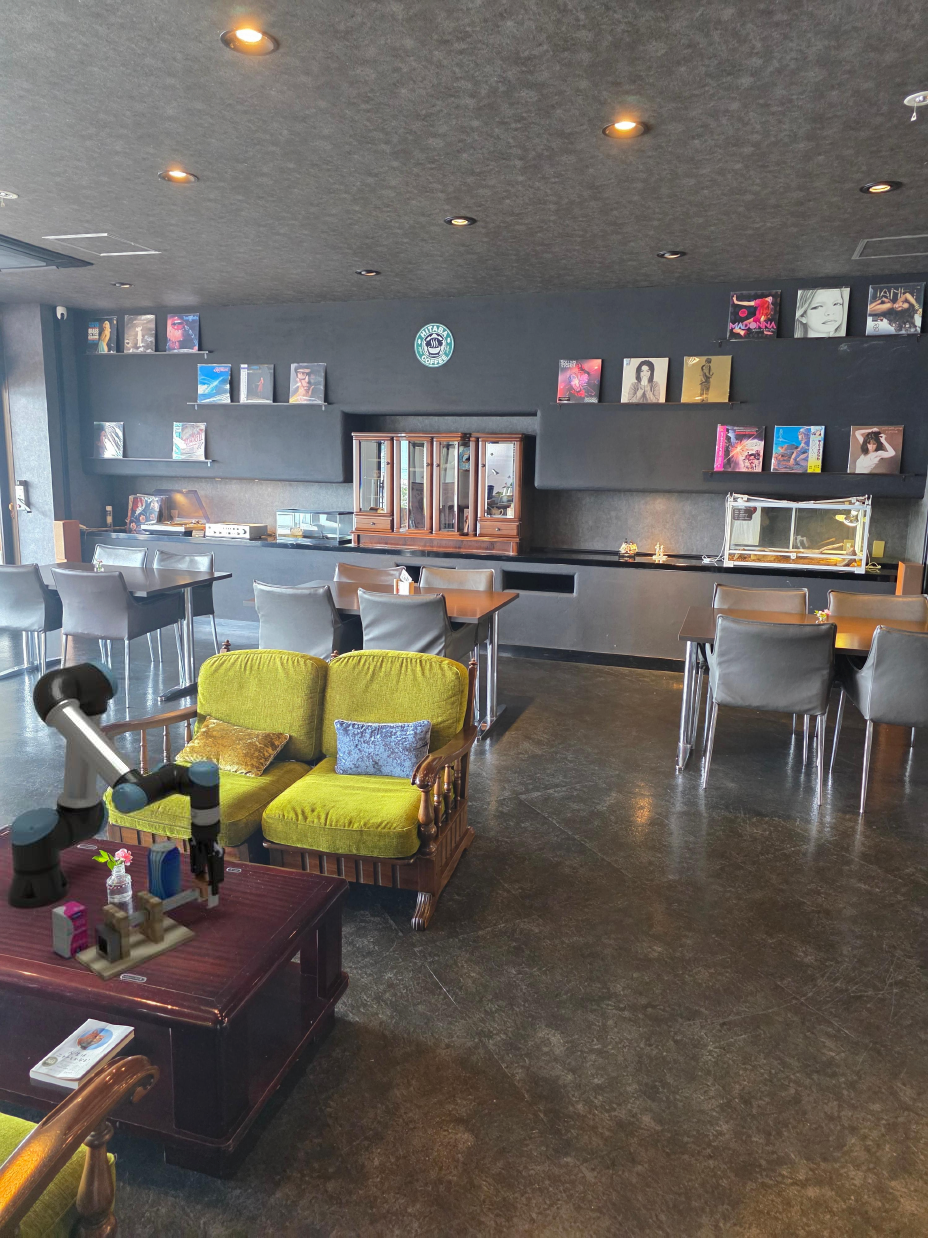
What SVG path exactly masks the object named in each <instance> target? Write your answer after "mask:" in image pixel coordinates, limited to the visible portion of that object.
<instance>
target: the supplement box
mask: <svg viewBox="0 0 928 1238" xmlns="http://www.w3.org/2000/svg"><path fill="white" fill-rule="evenodd" d="M87 908H88V907H86V906H85V905H82V904H80V903H78V902H76V901H75V900H72V901H70V902H68V903H65V904H62V905H60V906H59V907H56V908H54V909H52V910H51V914H52V916H51V917H52V919H51V920H52V943H53V953H54V955H58V956H59V957H61V958H63V959H65V960H69V959H70V958H73V957H75V954H77V953H79V952H81V951H84V950H86V949H88V948H89V940H88V938H89V937H88V913H87V912H88V911H87Z"/></svg>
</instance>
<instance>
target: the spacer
mask: <svg viewBox="0 0 928 1238" xmlns="http://www.w3.org/2000/svg"><path fill="white" fill-rule="evenodd" d="M94 935H95V936H94V939H95V941H94V942H95V943H94V944H95V945H96V954H98V955H99V956H100V957H102V958H103V959H105V960H106V961H108V962H109V963H110V964H112V963H115V962H117V961H119V960H121V955H120V934H119V932H118V931H116V930H115V929H113V928H111V927H110V926H108V925H107V924H105V923H104V922H103V923H101V924H98V925H95V926H94Z"/></svg>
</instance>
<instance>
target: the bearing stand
mask: <svg viewBox="0 0 928 1238" xmlns="http://www.w3.org/2000/svg"><path fill="white" fill-rule="evenodd" d="M144 908H147V909H149V910H150V918H149V919H147V920H145V921H142V922H140V923H138V926H136V927H134V928H132V929H130V927H129V915H130V914H127V913H126V912H125V911H124V910H121V909H120V908H118V907H117V906H115V905H114V904H111V903H110V904H108V905H105V906H103V923H105V924H107V925H108V926H110V927H111V928H113V929H115V930H116V931H118V932H119V934H120V955H121V960H119V961H117V962H115V963H112V964H110V963H109V962H108V961H106V960H105V959H103V958H102V957H100V956H99V955H98V954H96V944H95V945H93V946H91V947H88V949H86V950H84V951H81V952H79V953H77V954H75V956H74V957H75V960H76V961H78V962H80V963H81V964H82V965H83V966H85V967H86V968H88V969H89V970H90V971H91V972H93V973H94V974H96V975H97V976H98V977H100V978H101V979H103V980H104V981H105V982H106V981H108V980H111V979H112V978H114V977H117V976H119V975H120V974H123V973H125V972H127V971H129V970H131V969H133V968H136V967H137V966H140V965H142V964H144V963H146V962H148V961H149V960H150V961H151V960H152V959H154V958H156V957H158V956H160V955H162V954H165V953H166V952H169V951H171V950H173V949H175V948H177V947H180V946H182V945H184V944H186V943H187V942H189V941H192V940H194V939H196V932H194V931H192V930H190V929H189V928H187V927H185V926H184V925H182V924H180V923H178V922H177V921H175V920H174V919H171V918H170V917H168V916H166V915H165V914H164V912H163V901H162V900H160V899H159V898H157V897H155V896H153V895H152V894H150V893H149V891H147V890H143V891H140V892H137V911H140V910H142V909H144Z"/></svg>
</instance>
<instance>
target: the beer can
mask: <svg viewBox="0 0 928 1238" xmlns="http://www.w3.org/2000/svg"><path fill="white" fill-rule="evenodd" d="M181 869H182V868H181V850H180V849H179V847H178V846H177V842H175V841H172V840H162V841H157V842H155V843H153V844H152V845H151V846H150V850H149V852H148V853H147V875H148V876H147V877H148V878H147V879H148V893H150V894H152V895H153V896H155V897H157V898H159V899H160V900H162V901H163V900H166V899H168V898H170V897H173V896H175V895H177V894H180V893H182V875H181V874H182V873H181Z"/></svg>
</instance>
